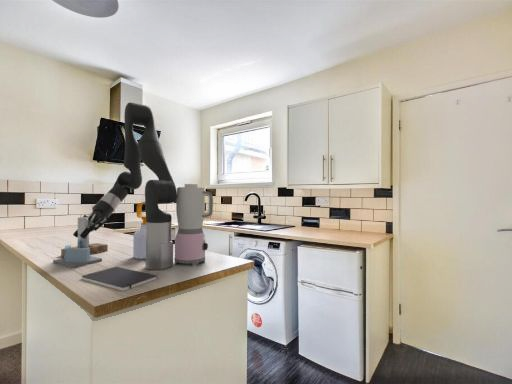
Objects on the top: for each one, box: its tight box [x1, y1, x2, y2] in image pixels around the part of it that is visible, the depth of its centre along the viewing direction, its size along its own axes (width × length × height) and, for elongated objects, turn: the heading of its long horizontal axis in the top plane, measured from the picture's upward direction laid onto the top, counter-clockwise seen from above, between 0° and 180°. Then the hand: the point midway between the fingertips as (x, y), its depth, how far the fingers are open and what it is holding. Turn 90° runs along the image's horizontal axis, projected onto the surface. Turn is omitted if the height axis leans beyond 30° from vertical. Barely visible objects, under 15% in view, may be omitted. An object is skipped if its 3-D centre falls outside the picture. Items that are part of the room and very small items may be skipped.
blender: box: [173, 183, 214, 267], centre depth 109 cm, size 16×12×32 cm
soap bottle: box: [132, 201, 146, 260], centre depth 117 cm, size 9×9×25 cm
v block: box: [52, 244, 103, 268], centre depth 108 cm, size 15×11×6 cm
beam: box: [60, 242, 109, 257], centre depth 122 cm, size 16×8×3 cm, turn 153°
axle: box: [76, 216, 90, 248], centre depth 109 cm, size 4×4×14 cm
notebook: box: [81, 266, 159, 291], centre depth 88 cm, size 13×2×21 cm
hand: (78, 236), depth 108 cm, fingers closed on axle, 4 cm apart
